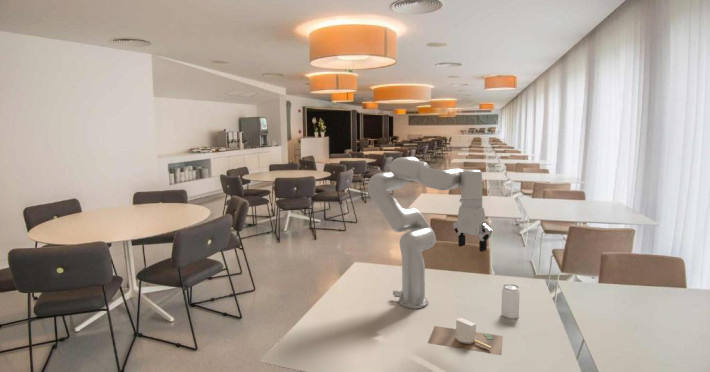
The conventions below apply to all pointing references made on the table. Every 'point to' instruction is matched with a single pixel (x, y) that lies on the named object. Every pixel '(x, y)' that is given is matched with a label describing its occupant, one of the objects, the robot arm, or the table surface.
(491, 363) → the table surface
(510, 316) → the can
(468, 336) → the knob
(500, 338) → the dial board
